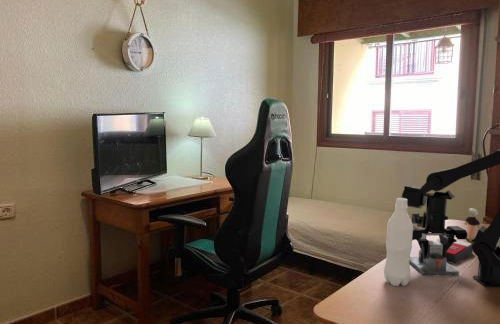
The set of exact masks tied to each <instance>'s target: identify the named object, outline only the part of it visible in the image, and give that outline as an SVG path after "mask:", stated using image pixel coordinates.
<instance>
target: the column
mask: <svg viewBox="0 0 500 324" xmlns="http://www.w3.org/2000/svg"><path fill="white" fill-rule="evenodd" d="M428 241H429V243H428V251H427V257H426V259H424V258H423V262H424V263H425V264H427V265H428V266H429V257H433V255H442V250H443V245H442V244H441V243H439V242H438V241H435V240H428Z"/></svg>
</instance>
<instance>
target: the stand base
mask: <svg viewBox="0 0 500 324" xmlns="http://www.w3.org/2000/svg"><path fill="white" fill-rule="evenodd" d="M409 264H410V266H412V267H413V268H414V269H416V271H418V272H419V273H420V274H421V275H422V276H460V271H459V270H458V269H456V268H455V267H453V266H452V265H451V264H449V262H447V259H446V258H445V257H443V256H442V255H433V257H429V266H428V265H427V264H425V263H424V262H423V256H422V253H421V249H419V250H418V256H415V257H412V256H410V260H409Z"/></svg>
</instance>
